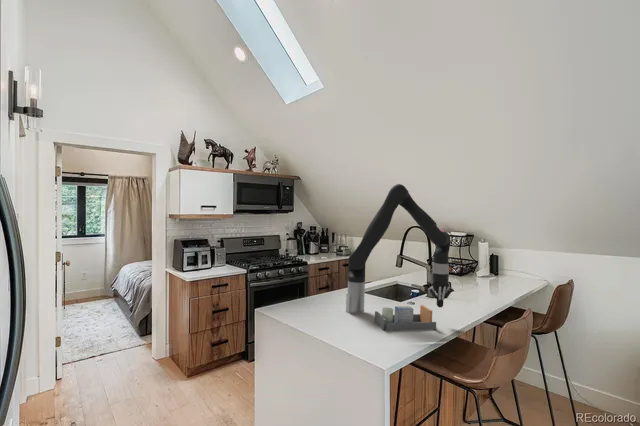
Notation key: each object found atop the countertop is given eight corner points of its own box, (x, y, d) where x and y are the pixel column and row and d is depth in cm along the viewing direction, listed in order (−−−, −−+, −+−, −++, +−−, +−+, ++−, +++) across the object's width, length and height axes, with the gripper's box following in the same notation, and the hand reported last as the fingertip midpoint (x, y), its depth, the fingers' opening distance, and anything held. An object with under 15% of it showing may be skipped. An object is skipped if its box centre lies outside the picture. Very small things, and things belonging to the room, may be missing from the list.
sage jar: (384, 327, 154) (384, 310, 154) (380, 323, 159) (380, 307, 159) (394, 327, 155) (394, 310, 155) (390, 323, 160) (390, 307, 160)
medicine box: (409, 323, 161) (410, 305, 161) (413, 326, 156) (413, 308, 156) (394, 323, 160) (394, 305, 160) (397, 326, 155) (397, 308, 155)
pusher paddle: (429, 327, 155) (430, 310, 155) (419, 320, 165) (420, 304, 165) (431, 327, 156) (432, 310, 155) (422, 320, 165) (422, 304, 165)
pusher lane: (383, 332, 150) (384, 320, 150) (374, 323, 162) (375, 311, 162) (436, 330, 154) (436, 318, 154) (423, 321, 167) (423, 310, 167)
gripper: (448, 270, 166) (447, 304, 166) (424, 270, 164) (423, 305, 164) (457, 273, 159) (456, 308, 159) (432, 273, 156) (431, 309, 157)
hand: (439, 306), depth 161 cm, fingers closed
